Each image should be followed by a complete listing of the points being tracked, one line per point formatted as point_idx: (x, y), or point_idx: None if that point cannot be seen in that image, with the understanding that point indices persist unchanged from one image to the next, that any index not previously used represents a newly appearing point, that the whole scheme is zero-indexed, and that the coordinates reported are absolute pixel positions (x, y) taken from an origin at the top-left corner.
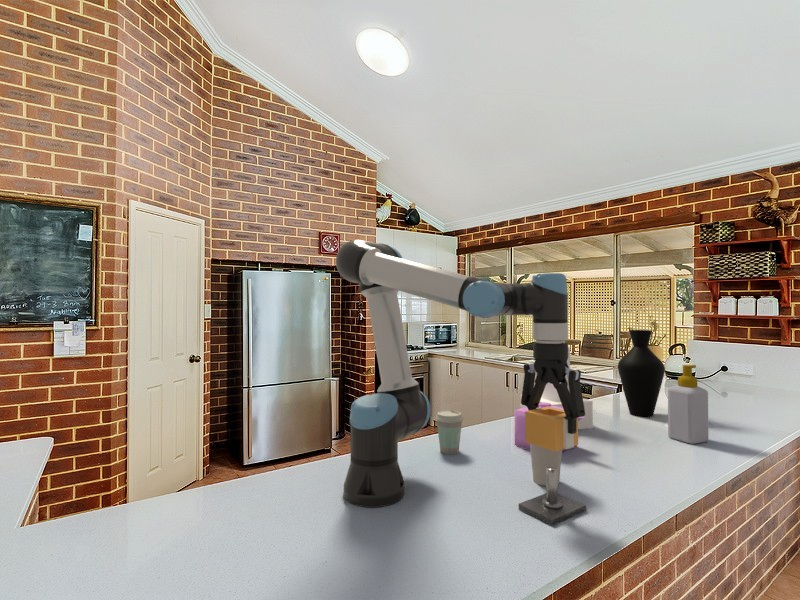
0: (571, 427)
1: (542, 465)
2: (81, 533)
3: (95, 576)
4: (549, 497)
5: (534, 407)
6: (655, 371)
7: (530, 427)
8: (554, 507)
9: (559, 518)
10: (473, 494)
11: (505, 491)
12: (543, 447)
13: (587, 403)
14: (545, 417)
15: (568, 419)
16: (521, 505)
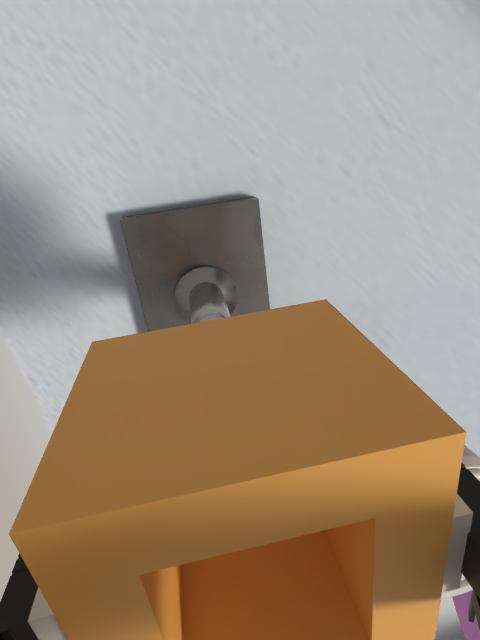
0: (22, 567)
1: None
2: None
3: None
4: (202, 289)
5: (478, 572)
6: None
7: (323, 357)
8: (178, 281)
9: (130, 256)
10: (413, 122)
11: (367, 242)
12: (186, 326)
13: None
14: (160, 489)
15: (30, 632)
16: (245, 200)
